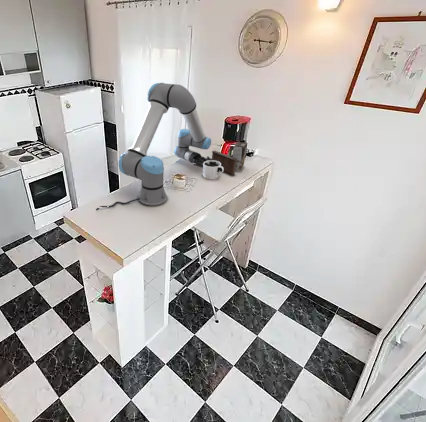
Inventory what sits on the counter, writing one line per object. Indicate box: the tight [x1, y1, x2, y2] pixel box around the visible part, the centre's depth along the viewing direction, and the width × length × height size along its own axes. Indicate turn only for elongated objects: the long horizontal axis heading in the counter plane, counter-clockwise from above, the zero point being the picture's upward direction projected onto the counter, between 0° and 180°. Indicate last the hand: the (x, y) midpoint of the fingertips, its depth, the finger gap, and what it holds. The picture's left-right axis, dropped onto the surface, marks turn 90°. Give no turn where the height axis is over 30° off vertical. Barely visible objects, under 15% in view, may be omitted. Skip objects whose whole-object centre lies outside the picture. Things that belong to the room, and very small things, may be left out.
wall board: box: [211, 149, 237, 177], centre depth 183 cm, size 18×3×11 cm, turn 32°
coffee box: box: [231, 141, 248, 173], centre depth 183 cm, size 9×6×16 cm
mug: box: [202, 160, 224, 180], centre depth 176 cm, size 13×10×8 cm
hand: (220, 169), depth 172 cm, fingers closed on mug, 2 cm apart
